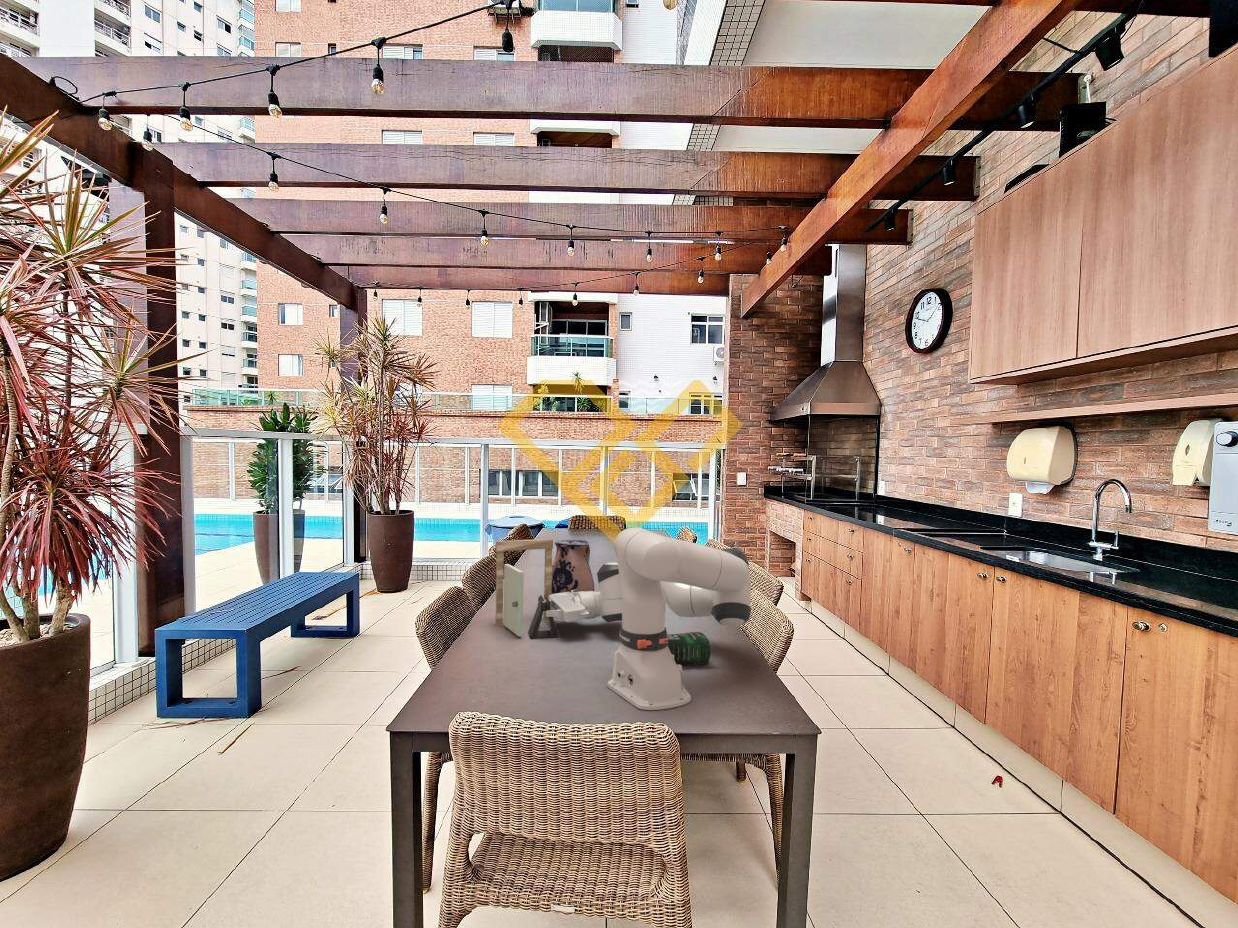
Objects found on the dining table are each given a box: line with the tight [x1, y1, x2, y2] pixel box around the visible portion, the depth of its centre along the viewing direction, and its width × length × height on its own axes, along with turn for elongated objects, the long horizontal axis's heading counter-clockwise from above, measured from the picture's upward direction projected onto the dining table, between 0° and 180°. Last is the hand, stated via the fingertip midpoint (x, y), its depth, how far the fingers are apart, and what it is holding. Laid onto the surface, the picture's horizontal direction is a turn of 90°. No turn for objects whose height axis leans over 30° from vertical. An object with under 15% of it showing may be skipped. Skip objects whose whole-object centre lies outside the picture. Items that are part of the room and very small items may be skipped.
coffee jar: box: [667, 631, 712, 666], centre depth 157 cm, size 10×8×19 cm
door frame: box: [495, 538, 554, 627], centre depth 189 cm, size 2×19×28 cm, turn 112°
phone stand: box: [527, 594, 560, 640], centre depth 178 cm, size 9×6×12 cm, turn 106°
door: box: [503, 563, 525, 637], centre depth 179 cm, size 3×13×20 cm, turn 32°
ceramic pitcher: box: [551, 539, 595, 594], centre depth 206 cm, size 18×21×25 cm
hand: (541, 609), depth 178 cm, fingers open, 8 cm apart
